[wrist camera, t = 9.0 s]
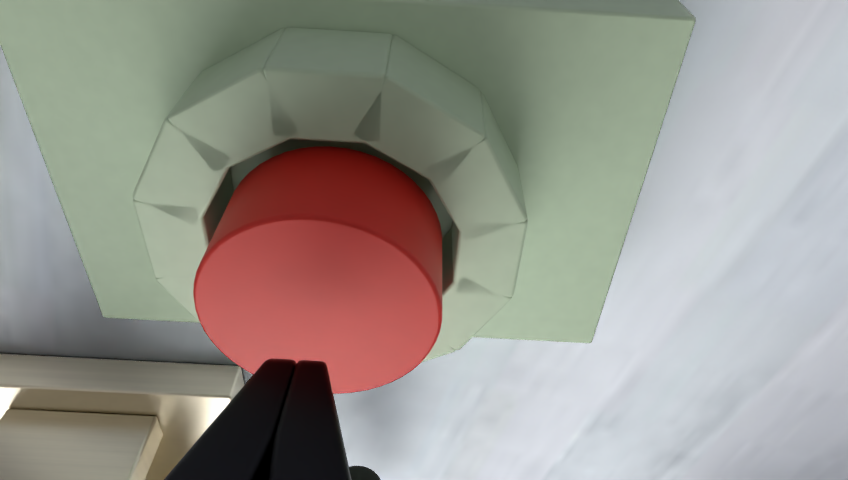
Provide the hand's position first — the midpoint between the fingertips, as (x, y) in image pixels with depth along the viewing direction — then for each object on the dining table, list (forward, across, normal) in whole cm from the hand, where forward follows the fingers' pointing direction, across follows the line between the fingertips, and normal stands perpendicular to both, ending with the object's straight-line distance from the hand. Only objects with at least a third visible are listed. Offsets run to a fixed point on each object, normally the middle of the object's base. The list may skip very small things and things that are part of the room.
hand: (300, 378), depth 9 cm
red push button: (+3, 0, 0) cm, 3 cm away
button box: (+6, 0, 0) cm, 7 cm away
